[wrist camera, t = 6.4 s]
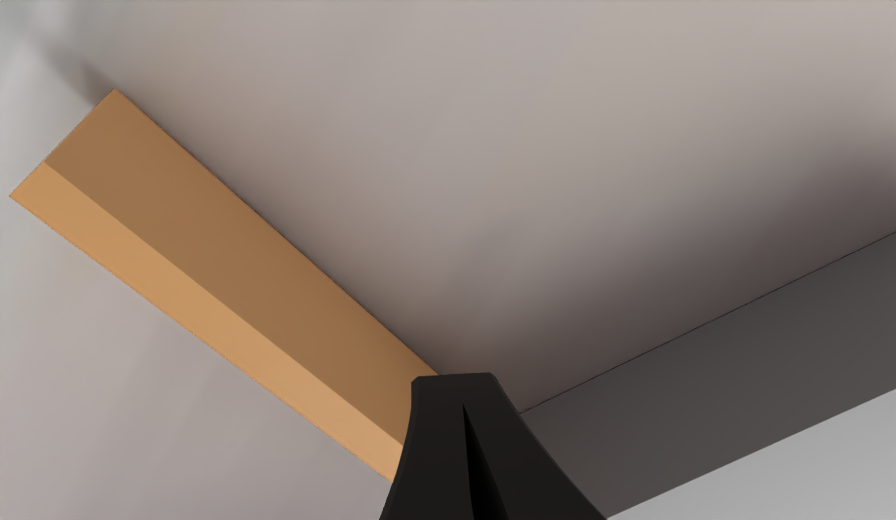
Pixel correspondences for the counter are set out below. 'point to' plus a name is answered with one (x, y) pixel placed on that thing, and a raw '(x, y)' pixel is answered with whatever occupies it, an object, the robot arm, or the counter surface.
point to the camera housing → (748, 410)
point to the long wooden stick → (226, 277)
